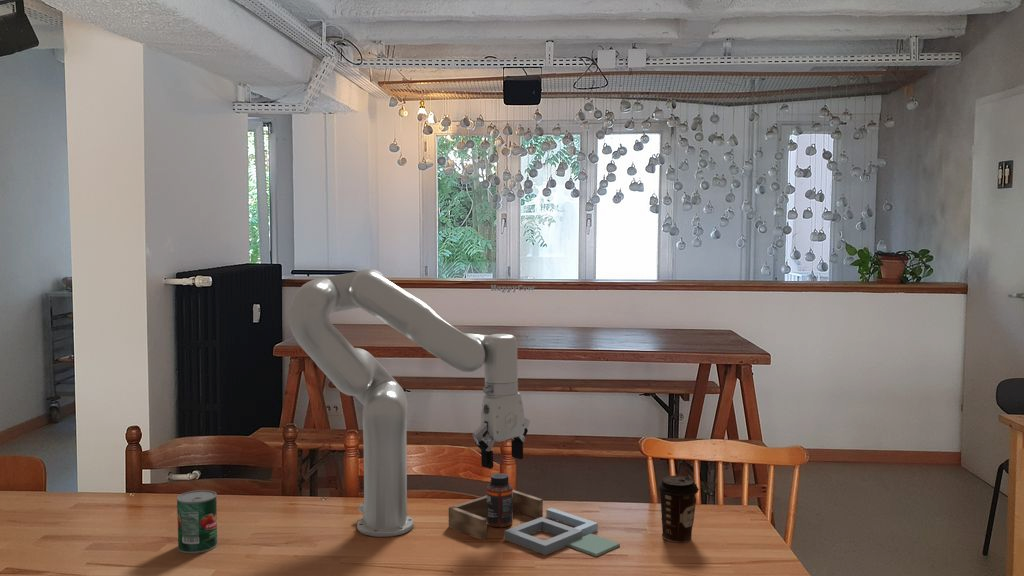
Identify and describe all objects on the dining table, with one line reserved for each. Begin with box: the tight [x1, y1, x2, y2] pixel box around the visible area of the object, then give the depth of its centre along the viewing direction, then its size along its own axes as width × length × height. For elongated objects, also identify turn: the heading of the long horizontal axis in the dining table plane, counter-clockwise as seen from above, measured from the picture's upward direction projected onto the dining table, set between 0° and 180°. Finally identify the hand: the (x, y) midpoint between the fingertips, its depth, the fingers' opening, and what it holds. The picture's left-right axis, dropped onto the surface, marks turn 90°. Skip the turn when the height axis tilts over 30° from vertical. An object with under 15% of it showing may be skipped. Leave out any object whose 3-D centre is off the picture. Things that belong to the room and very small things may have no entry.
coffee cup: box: [658, 475, 700, 543], centre depth 182 cm, size 9×8×13 cm
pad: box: [566, 533, 621, 558], centre depth 178 cm, size 8×8×1 cm
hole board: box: [503, 516, 582, 556], centre depth 181 cm, size 12×12×2 cm
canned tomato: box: [176, 489, 218, 554], centre depth 175 cm, size 8×8×11 cm
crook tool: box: [545, 507, 599, 537], centre depth 189 cm, size 14×7×2 cm, turn 45°
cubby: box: [448, 489, 544, 541], centre depth 191 cm, size 11×19×4 cm, turn 136°
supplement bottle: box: [486, 472, 514, 528], centre depth 190 cm, size 6×6×11 cm
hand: (502, 462), depth 189 cm, fingers open, 9 cm apart
